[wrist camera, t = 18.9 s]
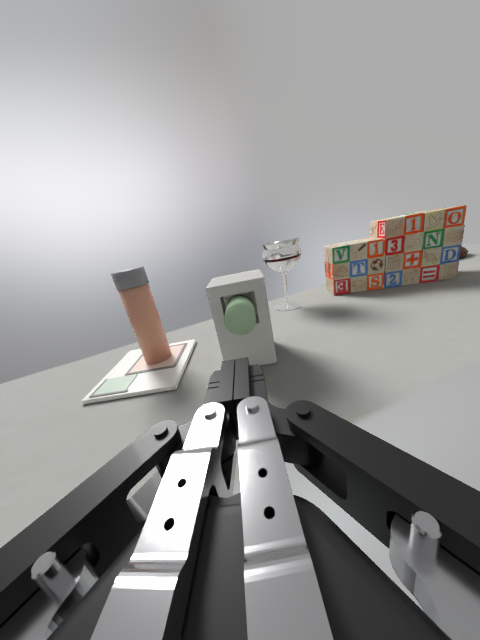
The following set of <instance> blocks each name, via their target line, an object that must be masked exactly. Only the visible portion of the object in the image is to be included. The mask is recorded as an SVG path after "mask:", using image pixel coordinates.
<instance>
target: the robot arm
mask: <svg viewBox="0 0 480 640" xmlns="http://www.w3.org/2000/svg"><path fill="white" fill-rule="evenodd" d="M238 439H239V443H240V444H238V461H239V476H240V491H241V493H239V494H236V495H234V496H233V486H234V476H235V466H236V457H237V454H236V449H235V448H236V440H238ZM284 462H288V463H293V464H294V466H295V468H296V469H297V470H298V471H299V472H300V473H301V474H303V475H304V476H305V477H306V478H307V479H308V480H309V481H311V482H312V483H313V484H314V485H315V486H316V487H318V488H319V489H320V490H321V491H322V492H323V493H325V494H326V495H327V496H328V497H329V498H331V499H332V500H333V501H334V502H335V503H336V504H337V505H339V506H340V507H341V508H342V509H343V510H344V511H346V512H347V513H348V514H349V515H350V516H351V517H353V518H354V519H355V520H356V521H357V522H358V523H360V524H361V525H362V526H363V527H364V528H365V529H367V530H368V531H369V532H371V534H372V535H374V536H375V537H376V538H377V539H378V540H379V541H381V542H382V543H383V544H384V545H385V546H387V547H388V548H389V556H390V560H391V564H392V567H393V569H394V571H395V573H396V575H397V576H398V578H399V579H400V581H401V582H402V583H403V585H404V586H405V587H406V588H407V589H408V590H409V591H410V592H411V594H413V596H414V597H415V598H416V600H417V601H418V603H419V604H420V606H421V607H422V609H423V611H422V610H421V609H420V608H419V607H418V606H417V605H416V604H415V603H414V602H413V601H412V600H411V599H410V598H409V597H408V596H407V595H406V594H405V593H404V592H403V591H402V590H401V589H400V588H399V587H398V586H397V585H396V584H395V583H394V582H393V581H392V580H391V579H390V578H389V577H388V576H387V575H386V574H385V573H384V572H383V571H382V570H381V569H380V568H379V567H378V566H377V565H376V564H375V563H374V562H373V561H372V560H371V559H370V558H369V557H368V556H367V555H366V554H365V553H364V552H363V551H362V550H361V549H360V548H359V547H358V546H357V545H356V544H355V543H354V542H353V541H352V540H351V539H350V538H349V537H348V536H347V535H346V534H345V533H344V532H343V531H342V530H341V529H340V528H339V527H338V526H337V525H336V524H335V523H334V522H333V521H332V520H331V519H330V518H329V517H328V516H327V515H326V514H325V513H323V512H322V511H321V510H320V509H319V508H318V507H316V506H315V505H314V504H312V503H311V502H309V501H307V500H306V499H303V498H301V497H299V496H296V495H293V494H292V489H291V486H290V482H289V478H288V474H287V471H286V467H285V463H284ZM155 466H156V467H157V469H158V472H157V473H156V474H155V475H154V476H153V477H152V478H151V479H149V480H148V481H147V482H146V483H145V484H144V485H143V486H142V487H141V488H140V489H139V490H138V491H137V492H136V493H135V494H134V495H133V496H132V497H131V498H130V499H128V500H126V498H127V495H128V493H129V491H130V490H131V489H132V488H133V487H134V486H135V485H136V484H137V483H138V482H139V481H140V480H141V479H142V478H143V477H144V476H145V475H146V474H147V473H148V472H149V471H151V470H152V469H153V468H154V467H155ZM0 640H480V491H478V490H476V489H474V488H472V487H470V486H468V485H466V484H464V483H463V482H461V481H459V480H457V479H455V478H453V477H451V476H449V475H447V474H445V473H444V472H442V471H440V470H438V469H436V468H434V467H432V466H431V465H429V464H427V463H425V462H423V461H421V460H419V459H417V458H416V457H414V456H412V455H410V454H408V453H406V452H404V451H402V450H400V449H399V448H397V447H395V446H393V445H391V444H389V443H387V442H385V441H384V440H382V439H380V438H378V437H376V436H374V435H372V434H370V433H369V432H367V431H365V430H363V429H361V428H359V427H357V426H355V425H353V424H352V423H350V422H348V421H346V420H344V419H342V418H340V417H338V416H337V415H335V414H333V413H331V412H329V411H327V410H325V409H323V408H321V407H320V406H318V405H316V404H314V403H312V402H309V401H296V402H293V403H291V404H290V405H289V406H288V407H287V409H282V408H277V407H274V406H273V405H271V404H270V403H269V402H268V398H267V392H266V386H265V380H264V375H263V369H262V368H261V367H260V366H259V365H258V364H255V365H250V364H249V359H248V357H245V358H239V359H236V360H235V359H233V360H227V361H223V362H222V367H221V370H218V371H215V372H214V373H213V374H212V375H211V376H210V380H209V384H208V389H207V393H206V398H205V402H204V405H203V406H202V407H200V408H199V409H198V410H197V412H196V414H195V416H194V419H193V420H192V421H190V422H188V423H185V424H183V425H180V426H177V424H176V422H175V421H173V420H164V421H161V422H158V423H157V424H155V425H154V426H152V427H151V428H150V429H149V430H147V431H146V432H145V433H144V434H142V435H141V436H140V437H139V438H137V439H136V440H135V441H134V442H132V443H131V444H130V445H129V446H127V447H126V448H125V449H124V450H122V451H121V452H120V453H119V454H117V455H116V456H115V457H114V458H112V459H111V460H110V461H109V462H107V463H106V464H105V465H104V466H102V467H101V468H100V469H99V470H97V471H96V472H95V473H94V474H92V475H91V476H90V477H89V478H87V479H86V480H85V481H84V482H83V483H81V484H80V485H79V486H78V487H76V488H75V489H74V490H73V491H71V492H70V493H69V494H68V495H66V496H65V497H64V498H63V499H61V500H60V501H59V502H58V503H56V504H55V505H54V506H53V507H51V508H50V509H49V510H48V511H46V512H45V513H44V514H43V515H41V516H40V517H39V518H38V519H36V520H35V521H34V522H33V523H31V524H30V525H29V526H28V527H26V528H25V529H24V530H23V531H21V532H20V533H19V534H18V535H17V536H15V537H14V538H13V539H12V540H10V541H9V542H8V543H7V544H5V545H4V546H3V547H2V548H0Z"/></svg>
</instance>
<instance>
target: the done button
mask: <svg viewBox="0 0 480 640" xmlns="http://www.w3.org/2000/svg"><path fill="white" fill-rule="evenodd" d="M224 324H225V327H226V328H227V329H228V331H230V332H231V333H233V334H236V335H245V334H247V333H249V332H250V331H252V330H253V328H254V327H255V324H256V315H255V310H254V305H253V302H252V300H251V299H250V298H249V297H248V296H246V295H242V294H238V295H235V296H233V297H231V298H230V299H229V301H228V303H227V306H226V311H225V316H224Z"/></svg>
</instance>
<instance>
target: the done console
mask: <svg viewBox="0 0 480 640" xmlns="http://www.w3.org/2000/svg"><path fill="white" fill-rule="evenodd" d="M206 292H207V296H208V300H209V304H210V308H211V312H212V315H213V320H214V324H215V328H216V332H217V336H218V340H219V344H220V348H221V352H222V356H223V360H224V361H227V360H233V359H235V360H236V359H239V358H245V357H248V359H249V364H250V365H255V364H258V365H259V366H261V365H267V364H273V363H277V358H276V351H275V345H274V339H273V332H272V326H271V319H270V313H269V307H268V301H267V294H266V288H265V282H264V276H263V275H262V273H261V271H260V269H257V270H252V271H247V272H242V273H236V274H231V275H226V276H222V277H216V278H212V280H211V281H210V283H209V284H208V286H207V287H206ZM238 294H242V295H246V296H248V297H249V298H250V299H251V300H252V302H253V305H254V310H255V315H256V324H255V327H254V328H253V330H252V331H250V332H249V333H247V334H245V335H236V334H233V333H231V332H230V331H228V329H227V328H226V327H225V324H224V316H225V311H226V306H227V303H228V301H229V299H230V298H231V297H233V296H235V295H238Z"/></svg>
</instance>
